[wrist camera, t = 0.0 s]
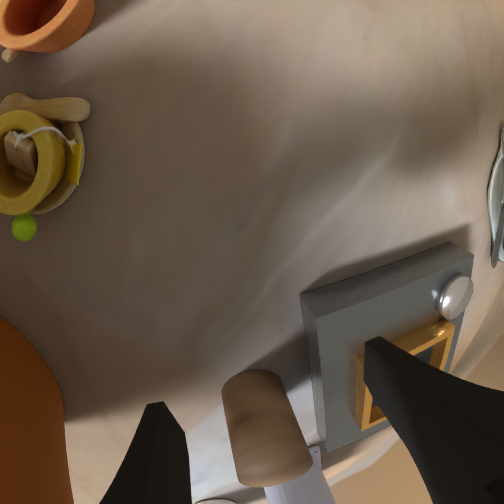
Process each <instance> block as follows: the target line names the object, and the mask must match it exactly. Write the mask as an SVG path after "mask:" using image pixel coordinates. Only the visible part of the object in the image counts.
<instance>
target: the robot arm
mask: <svg viewBox="0 0 504 504" xmlns="http://www.w3.org/2000/svg"><path fill="white" fill-rule="evenodd" d="M363 380H364V382H365V384H366V386H367V388H368V390H369V392H370V393H371V395H372V397H373V399H374V401H375V402H376V404H377V405H378V407H379V408H380V410H381V411H382V412H383V414H384V415H385V417H386V418H387V420H388V421H389V422H390V424H391V425H392V427H393V428H394V429H395V431H396V432H397V434H398V435H399V436H400V438H401V439H402V441H403V442H404V444H405V445H406V447H407V448H408V450H409V452H410V454H411V456H412V458H413V460H414V462H415V464H416V466H417V468H418V470H419V472H420V474H421V476H422V478H423V480H424V483H425V485H426V487H427V490H428V492H429V494H430V497H431V499H432V502H433V504H504V391H499V390H495V389H491V388H487V387H483V386H480V385H476V384H474V383H471V382H468V381H465V380H463V379H460V378H458V377H455V376H453V375H451V374H448V373H446V372H444V371H442V370H440V369H438V368H436V367H434V366H432V365H430V364H428V363H426V362H424V361H422V360H420V359H419V358H417V357H415V356H413V355H411V354H410V353H408V352H406V351H404V350H403V349H401V348H399V347H398V346H396V345H394V344H393V343H391V342H389V341H387V340H386V339H384V338H382V337H381V336H378V337H376V338H373V339H371V340H368V341H366V342H365V352H364V374H363ZM308 449H309V452H310V454H311V457H312V459H313V465H312V467H311V468H310V469H309V470H308V471H307V472H306V473H305V474H303V475H302V476H300V477H298V478H296V479H294V480H292V481H290V482H287V483H284V484H280V485H276V486H271V487H263V488H264V491H265V494H266V498H267V501H268V504H336V502H335V500H334V498H333V495H332V493H331V491H330V488H329V486H328V484H327V481H326V479H325V477H324V474H323V472H322V467H321V455H320V447H319V446H318V445H316V446H313V447H310V448H308ZM99 504H192V499H191V484H190V467H189V455H188V448H187V443H186V437H185V432H184V431H183V429H182V428H181V427H180V425H179V424H178V422H177V421H176V419H175V418H174V416H173V415H172V414H171V412H170V411H169V409H168V408H167V406H166V404H165V403H164V401H162V402H157V403H151V404H147V406H146V408H145V410H144V413H143V415H142V418H141V420H140V423H139V425H138V428H137V430H136V433H135V435H134V437H133V440H132V442H131V444H130V447H129V449H128V451H127V453H126V456H125V458H124V460H123V462H122V464H121V466H120V468H119V470H118V472H117V474H116V476H115V478H114V480H113V482H112V484H111V485H110V487H109V489H108V490H107V492H106V494H105V495H104V497H103V499H102V500H101V502H100V503H99Z"/></svg>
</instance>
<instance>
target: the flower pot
mask: <svg viewBox="0 0 504 504" xmlns="http://www.w3.org/2000/svg"><path fill="white" fill-rule="evenodd" d="M0 504H74V500H73V495H72V489H71V483H70V477H69V469H68V461H67V452H66V442H65V428H64V405H63V397H62V394H61V390H60V388H59V385H58V383H57V381H56V379H55V377H54V375H53V374H52V372H51V370H50V369H49V367H48V366H47V364H46V363H45V361H44V360H43V359H42V357H41V356H40V355H39V353H38V352H37V351H36V350H35V348H34V347H33V346H32V345H31V344H30V343H29V342H28V341H27V339H26V338H25V337H24V336H23V335H22V334H21V333H20V332H19V331H18V330H16V329H15V328H14V327H13V326H12V325H11V324H10V323H8V322H7V321H6V320H5V319H4V318H2V317H1V316H0Z"/></svg>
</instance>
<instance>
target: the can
mask: <svg viewBox="0 0 504 504" xmlns="http://www.w3.org/2000/svg"><path fill="white" fill-rule="evenodd" d="M196 504H236V503H234V502H233V501H231V500H228V499H209V500H203V501H200V502H198V503H196Z"/></svg>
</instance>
